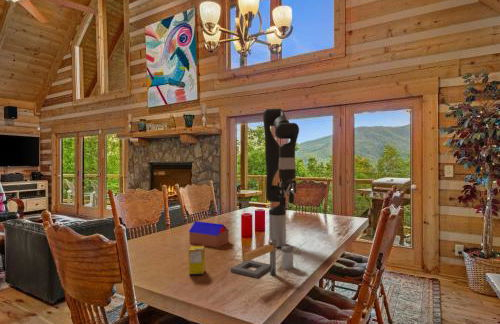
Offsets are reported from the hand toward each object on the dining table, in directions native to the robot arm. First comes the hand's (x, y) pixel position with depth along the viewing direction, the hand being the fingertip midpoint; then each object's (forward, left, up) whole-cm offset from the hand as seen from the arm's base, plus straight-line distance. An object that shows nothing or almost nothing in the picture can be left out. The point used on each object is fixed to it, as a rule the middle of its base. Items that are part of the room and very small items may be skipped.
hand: (287, 204), depth 138 cm
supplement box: (+26, -30, -28) cm, 49 cm away
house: (-13, -56, -28) cm, 64 cm away
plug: (0, 0, -28) cm, 28 cm away
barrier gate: (+19, -3, -28) cm, 33 cm away
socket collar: (+11, -12, -28) cm, 32 cm away
